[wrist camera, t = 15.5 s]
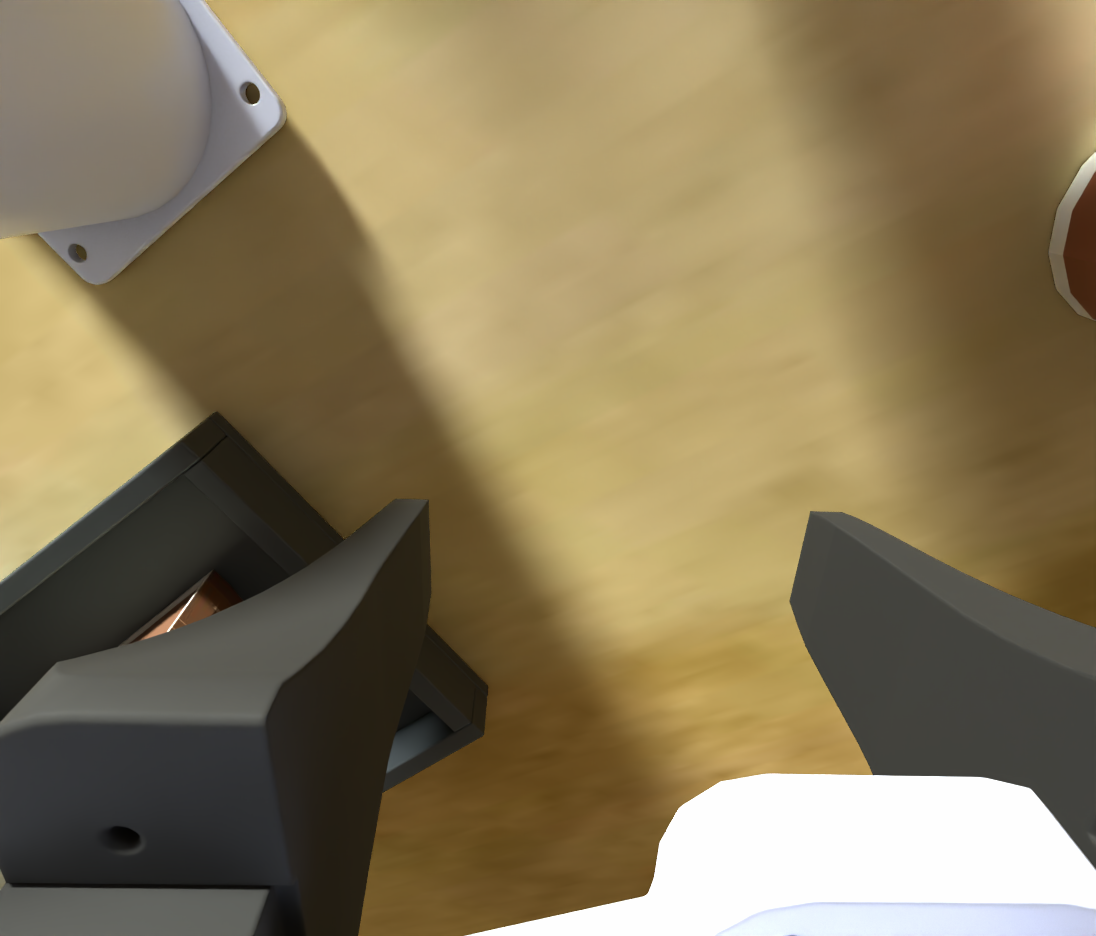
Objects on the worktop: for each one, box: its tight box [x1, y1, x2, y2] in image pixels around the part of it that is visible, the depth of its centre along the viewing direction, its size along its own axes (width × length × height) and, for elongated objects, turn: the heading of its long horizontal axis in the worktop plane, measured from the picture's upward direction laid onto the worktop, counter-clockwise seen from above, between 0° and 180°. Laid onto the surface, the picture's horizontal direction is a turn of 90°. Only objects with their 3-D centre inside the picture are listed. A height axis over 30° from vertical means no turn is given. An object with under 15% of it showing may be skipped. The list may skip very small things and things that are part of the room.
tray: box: [0, 412, 488, 792], centre depth 26 cm, size 15×18×3 cm
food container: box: [0, 569, 243, 890], centre depth 22 cm, size 12×6×10 cm, turn 128°
